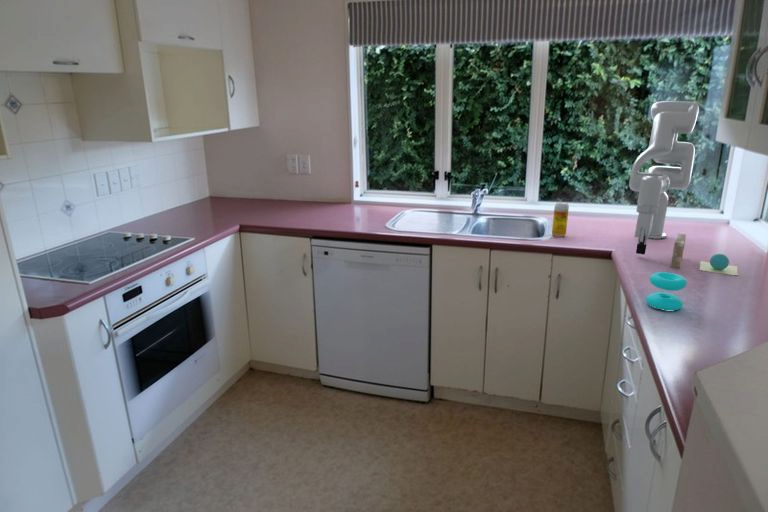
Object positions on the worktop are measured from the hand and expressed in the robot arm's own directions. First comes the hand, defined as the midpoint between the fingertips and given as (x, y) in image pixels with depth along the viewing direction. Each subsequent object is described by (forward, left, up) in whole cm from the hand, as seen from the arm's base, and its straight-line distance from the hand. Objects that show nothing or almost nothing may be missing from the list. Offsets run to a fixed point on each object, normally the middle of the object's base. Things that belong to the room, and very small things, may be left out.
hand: (640, 253), depth 212 cm
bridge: (0, +13, -2) cm, 13 cm away
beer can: (-16, -36, -2) cm, 39 cm away
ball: (+1, +27, +2) cm, 27 cm away
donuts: (+51, +13, -2) cm, 53 cm away
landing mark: (0, +27, -2) cm, 27 cm away
